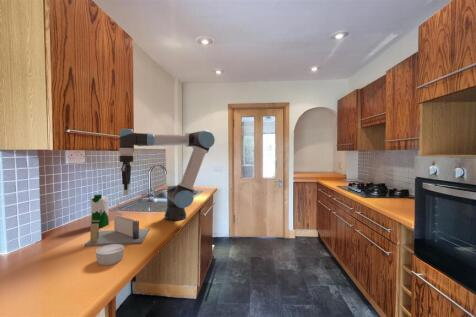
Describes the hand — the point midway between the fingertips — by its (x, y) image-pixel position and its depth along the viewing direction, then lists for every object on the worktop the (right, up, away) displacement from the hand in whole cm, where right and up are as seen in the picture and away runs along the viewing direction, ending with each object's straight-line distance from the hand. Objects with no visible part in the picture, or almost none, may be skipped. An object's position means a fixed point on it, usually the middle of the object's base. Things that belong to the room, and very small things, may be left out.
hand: (126, 195), depth 145 cm
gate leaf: (+3, -20, -8) cm, 22 cm away
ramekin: (+11, -23, -39) cm, 46 cm away
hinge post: (+12, -22, -15) cm, 29 cm away
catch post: (-7, -22, -20) cm, 31 cm away
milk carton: (-21, -21, +9) cm, 31 cm away
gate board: (+2, -22, -11) cm, 24 cm away
